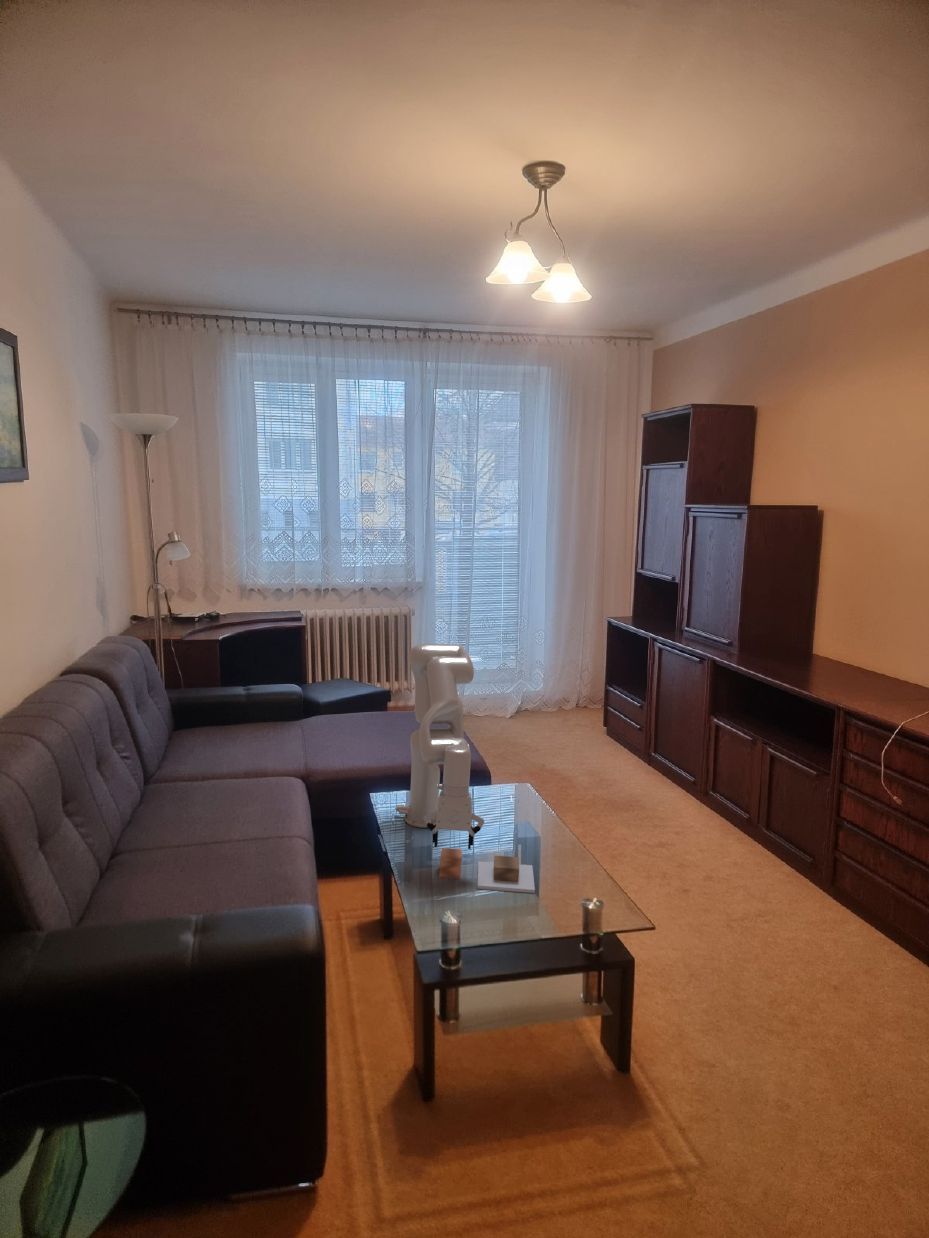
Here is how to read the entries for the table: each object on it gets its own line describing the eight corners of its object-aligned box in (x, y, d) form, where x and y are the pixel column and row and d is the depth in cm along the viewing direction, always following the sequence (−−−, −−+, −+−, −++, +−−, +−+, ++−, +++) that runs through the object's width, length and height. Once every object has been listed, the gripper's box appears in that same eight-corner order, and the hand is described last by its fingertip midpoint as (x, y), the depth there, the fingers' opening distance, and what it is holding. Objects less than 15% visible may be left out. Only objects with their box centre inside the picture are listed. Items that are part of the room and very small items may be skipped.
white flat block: (477, 888, 213) (478, 872, 212) (478, 864, 227) (479, 848, 226) (534, 892, 212) (535, 876, 211) (532, 868, 226) (533, 852, 225)
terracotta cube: (439, 877, 218) (440, 857, 217) (440, 866, 224) (441, 847, 223) (460, 878, 218) (461, 859, 217) (461, 868, 224) (462, 849, 223)
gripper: (424, 792, 213) (421, 849, 215) (486, 796, 212) (482, 854, 215) (426, 782, 220) (423, 838, 223) (486, 786, 220) (482, 842, 222)
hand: (452, 846), depth 219 cm, fingers open, 9 cm apart
